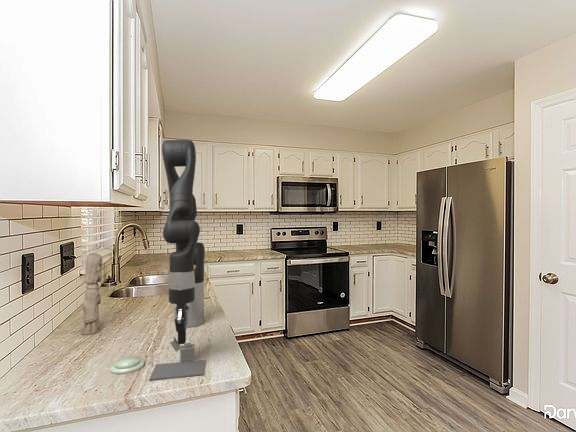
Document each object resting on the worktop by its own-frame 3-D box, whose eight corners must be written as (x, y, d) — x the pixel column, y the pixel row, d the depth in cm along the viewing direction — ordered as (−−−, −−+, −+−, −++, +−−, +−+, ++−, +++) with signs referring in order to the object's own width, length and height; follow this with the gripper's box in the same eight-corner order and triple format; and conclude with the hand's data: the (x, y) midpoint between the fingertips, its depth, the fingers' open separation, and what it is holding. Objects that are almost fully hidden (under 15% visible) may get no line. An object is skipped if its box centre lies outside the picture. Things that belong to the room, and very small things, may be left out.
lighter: (194, 355, 98) (194, 333, 96) (194, 359, 97) (194, 337, 94) (170, 359, 96) (169, 336, 94) (169, 363, 94) (169, 340, 92)
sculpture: (102, 332, 120) (102, 253, 121) (80, 336, 117) (80, 254, 117) (102, 327, 127) (102, 251, 127) (81, 330, 123) (82, 252, 124)
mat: (156, 365, 93) (156, 364, 93) (205, 361, 96) (205, 359, 96) (149, 380, 84) (149, 379, 84) (203, 375, 87) (203, 373, 87)
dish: (115, 361, 96) (115, 355, 96) (147, 358, 97) (147, 352, 97) (104, 375, 87) (104, 369, 87) (140, 372, 89) (140, 366, 89)
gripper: (172, 282, 102) (172, 336, 102) (164, 291, 89) (164, 353, 89) (196, 281, 104) (196, 334, 103) (192, 289, 91) (192, 350, 91)
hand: (181, 343), depth 96 cm, fingers closed
